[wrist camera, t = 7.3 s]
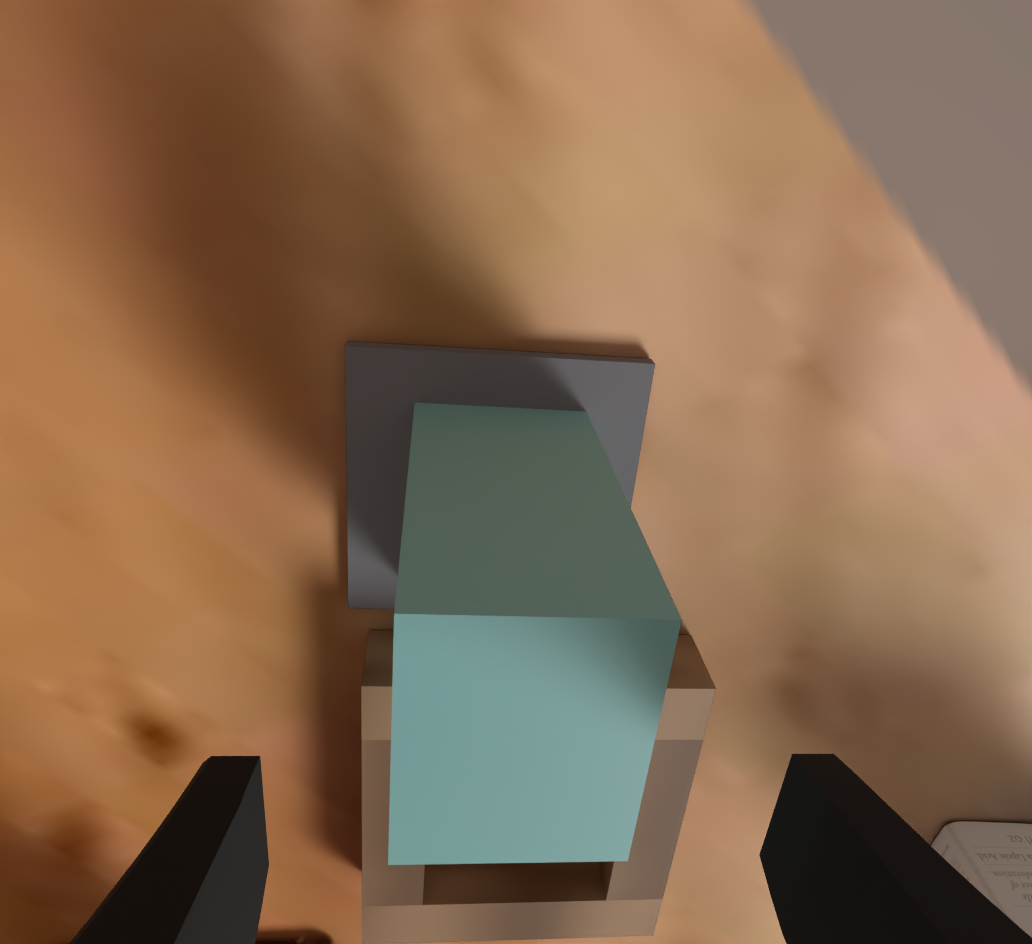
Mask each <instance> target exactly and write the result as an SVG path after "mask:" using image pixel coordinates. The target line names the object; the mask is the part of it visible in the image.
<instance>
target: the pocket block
mask: <svg viewBox="0 0 1032 944" xmlns="http://www.w3.org/2000/svg"><path fill="white" fill-rule="evenodd" d="M393 637H394V631H387V630H369V635H368V642H367V650H366V657H365V664H364V671H363V678H362V685H361V739H362V944H397V943H430V942H462V941H495V940H528V939H561V938H594V937H627V936H653V934H654V930H655V927H656V923H657V919H658V915H659V911H660V907H661V903H662V899H663V895H664V891H665V887H666V883H667V879H668V876H669V872H670V868H671V864H672V860H673V856H674V852H675V848H676V844H677V840H678V836H679V832H680V829H681V825H682V821H683V817H684V813H685V809H686V805H687V801H688V797H689V793H690V789H691V785H692V781H693V778H694V774H695V770H696V766H697V762H698V758H699V754H700V750H701V746H702V742H703V738H704V734H705V730H706V727H707V723H708V719H709V715H710V711H711V707H712V703H713V699H714V695H715V691H716V688H715V686H714V683H713V681H712V679H711V677H710V675H709V673H708V670H707V668H706V666H705V664H704V662H703V660H702V657H701V655H700V653H699V651H698V649H697V647H696V644H695V642H694V640H693V638H692V636H691V635H678V639H677V644H676V648H675V653H674V657H673V661H672V666H671V670H670V675H669V679H668V684H667V688H666V693H665V697H664V702H663V706H662V711H661V715H660V720H659V724H658V728H657V733H656V737H655V742H654V746H653V751H652V755H651V760H650V764H649V769H648V773H647V778H646V782H645V787H644V791H643V795H642V800H641V804H640V809H639V813H638V818H637V822H636V827H635V831H634V836H633V840H632V845H631V849H630V854H629V858H628V861H608V862H546V863H484V864H422V865H388V847H389V805H390V763H391V721H392V679H393Z"/></svg>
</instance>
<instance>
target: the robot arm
mask: <svg viewBox="0 0 1032 944" xmlns="http://www.w3.org/2000/svg"><path fill="white" fill-rule="evenodd" d="M760 858H761V862H762V865H763V869H764V873H765V876H766V880H767V883H768V887H769V891H770V894H771V898H772V901H773V904H774V907H775V911H776V914H777V917H778V920H779V924H780V927H781V930H782V933H783V936H784V938H785V941H786V943H787V944H1032V937H1031V936H1029V935H1028V934H1027V933H1026V932H1025V931H1024V930H1022V929H1021V928H1020V927H1019V926H1018V925H1017V924H1016V923H1014V922H1013V921H1012V920H1011V919H1010V918H1009V917H1008V916H1007V915H1005V914H1004V913H1003V912H1002V911H1001V910H1000V909H999V908H998V907H996V906H995V905H994V904H993V903H992V902H991V901H990V900H989V899H987V898H986V897H985V896H984V895H983V894H982V893H981V892H980V891H979V890H978V889H976V888H975V887H974V886H973V885H972V884H971V883H970V882H969V881H968V880H967V879H966V878H965V877H963V876H962V875H961V874H960V873H959V872H958V871H957V870H956V869H955V868H954V867H953V866H952V865H951V864H949V863H948V862H947V861H946V860H945V859H944V858H943V857H942V856H941V855H940V854H939V853H938V852H937V851H936V850H935V849H933V848H932V847H931V846H930V845H929V844H928V843H927V842H926V841H925V840H924V839H923V838H922V837H921V836H920V835H919V834H918V833H917V832H916V831H915V830H914V829H912V828H911V827H910V826H909V825H908V824H907V823H906V822H905V821H904V820H903V819H902V818H901V817H900V816H899V815H898V814H897V813H896V812H895V811H894V810H893V809H892V808H891V807H889V806H888V805H887V804H886V803H885V802H884V801H883V800H882V799H881V798H880V797H879V796H878V795H877V794H876V793H875V792H874V791H873V790H872V789H871V788H870V787H869V786H868V785H867V784H865V783H864V782H863V781H862V780H861V779H860V778H859V777H858V776H857V775H856V774H855V773H854V772H853V771H852V770H851V769H850V768H849V767H847V766H846V765H845V764H844V763H843V762H842V761H841V760H840V759H839V758H838V757H837V756H835V755H834V754H792V756H791V759H790V762H789V766H788V769H787V772H786V775H785V778H784V781H783V784H782V787H781V790H780V793H779V796H778V800H777V803H776V806H775V809H774V812H773V815H772V818H771V821H770V824H769V827H768V830H767V834H766V837H765V840H764V843H763V846H762V849H761V852H760ZM268 867H269V860H268V848H267V835H266V823H265V811H264V798H263V786H262V774H261V761H260V756H211V757H210V758H208V759H207V760H206V761H205V762H203V763H202V765H201V766H200V768H199V769H198V771H197V773H196V774H195V776H194V777H193V779H192V780H191V782H190V783H189V785H188V786H187V788H186V789H185V791H184V792H183V794H182V795H181V796H180V798H179V799H178V801H177V802H176V804H175V805H174V807H173V808H172V810H171V811H170V812H169V814H168V815H167V817H166V818H165V819H164V821H163V822H162V824H161V825H160V827H159V828H158V829H157V831H156V832H155V833H154V835H153V836H152V837H151V839H150V840H149V842H148V843H147V844H146V846H145V847H144V848H143V850H142V851H141V853H140V854H139V855H138V857H137V858H136V859H135V861H134V862H133V863H132V865H131V866H130V867H129V868H128V870H127V871H126V872H125V874H124V875H123V876H122V877H121V879H120V880H119V881H118V883H117V884H116V885H115V887H114V888H113V889H112V890H111V892H110V893H109V894H108V896H107V897H106V898H105V900H104V901H103V902H102V903H101V905H100V906H99V907H98V909H97V910H96V911H95V912H94V914H93V915H92V916H91V918H90V919H89V920H88V921H87V923H86V924H85V925H84V926H83V928H82V929H81V930H80V931H79V932H78V934H77V935H76V936H75V937H74V938H73V940H72V941H71V942H70V943H69V944H255V941H256V935H257V930H258V924H259V919H260V913H261V908H262V902H263V896H264V890H265V884H266V878H267V873H268Z"/></svg>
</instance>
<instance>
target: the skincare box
mask: <svg viewBox="0 0 1032 944" xmlns="http://www.w3.org/2000/svg"><path fill="white" fill-rule="evenodd" d="M931 847H932V848H933V849H935V850H936V851H937V852H938V853H939V854H940V855H941V856H942V857H943V858H944V859H945V860H946V861H947V862H948V863H949V864H951V865H952V866H953V867H954V868H955V869H956V870H957V871H958V872H959V873H960V874H961V875H962V876H963V877H965V878H966V879H967V880H968V881H969V882H970V883H971V884H972V885H973V886H974V887H975V888H976V889H978V890H979V891H980V892H981V893H982V894H983V895H984V896H985V897H986V898H987V899H989V900H990V901H991V902H992V903H993V904H994V905H995V906H996V907H998V908H999V909H1000V910H1001V911H1002V912H1003V913H1004V914H1005V915H1007V916H1008V917H1009V918H1010V919H1011V920H1012V921H1013V922H1014V923H1016V924H1017V925H1018V926H1019V927H1020V928H1021V929H1022V930H1024V931H1025V932H1026V933H1027V934H1028V935H1029V936H1031V937H1032V824H1021V823H997V822H968V821H959V822H953V823H950V824H947V825H945V826H944V827H943V829H942V830H941V831H940V833H939V835H938V836H937V838H936V839H935V840H934V842H933V844H932V845H931Z"/></svg>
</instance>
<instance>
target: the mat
mask: <svg viewBox="0 0 1032 944" xmlns="http://www.w3.org/2000/svg"><path fill="white" fill-rule="evenodd" d="M654 367H655V363H654V362H653V361H652V359H648V358H630V357H613V356H596V355H578V354H561V353H544V352H526V351H509V350H491V349H474V348H457V347H439V346H422V345H405V344H387V343H370V342H352V341H347V343H346V345H345V389H346V466H347V543H348V608H358V609H395V599H396V589H397V579H398V568H399V558H400V548H401V538H402V528H403V517H404V507H405V497H406V487H407V477H408V466H409V456H410V446H411V436H412V426H413V415H414V405H415V403H434V404H453V405H472V406H491V407H510V408H529V409H547V410H566V411H585V412H587V414H588V416H589V418H590V420H591V423H592V425H593V427H594V429H595V431H596V433H597V436H598V438H599V440H600V442H601V444H602V447H603V449H604V451H605V453H606V455H607V458H608V460H609V462H610V464H611V466H612V468H613V471H614V473H615V475H616V477H617V479H618V482H619V484H620V486H621V488H622V490H623V492H624V495H625V497H626V499H627V501H628V503H629V506H630V508H631V503H632V497H633V491H634V485H635V479H636V473H637V467H638V461H639V456H640V450H641V444H642V438H643V432H644V426H645V420H646V414H647V408H648V403H649V397H650V391H651V385H652V379H653V373H654Z"/></svg>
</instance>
